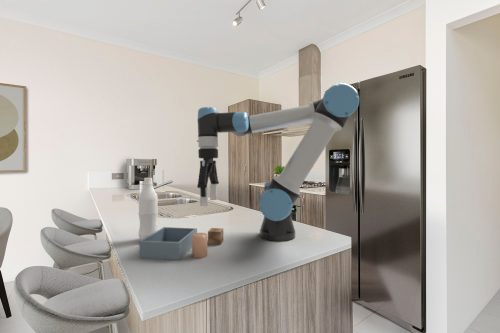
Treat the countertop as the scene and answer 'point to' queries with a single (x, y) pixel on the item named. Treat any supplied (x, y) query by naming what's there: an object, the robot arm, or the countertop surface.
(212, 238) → the cube
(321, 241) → the countertop surface
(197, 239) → the capsule
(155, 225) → the water bottle
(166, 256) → the tote
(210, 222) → the countertop surface
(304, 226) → the countertop surface
